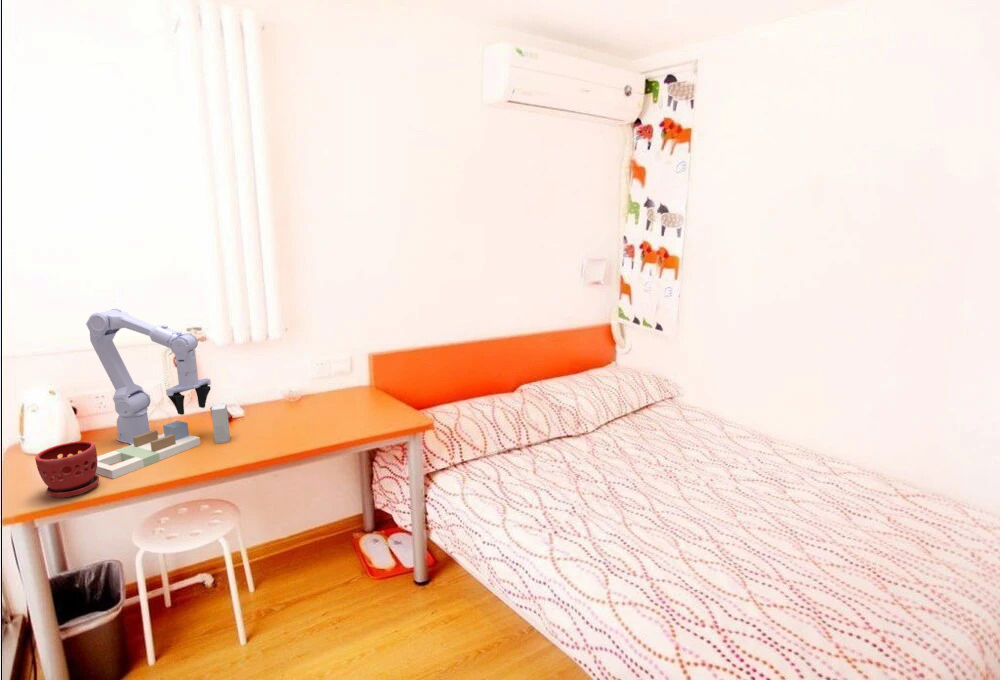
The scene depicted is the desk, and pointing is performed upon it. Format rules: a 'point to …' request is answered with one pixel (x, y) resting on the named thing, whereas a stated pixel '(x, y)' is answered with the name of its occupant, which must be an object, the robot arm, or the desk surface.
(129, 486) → the desk surface
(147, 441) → the deck
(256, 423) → the desk surface
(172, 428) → the block
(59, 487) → the plant pot
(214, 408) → the skincare box
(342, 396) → the desk surface
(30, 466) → the desk surface
